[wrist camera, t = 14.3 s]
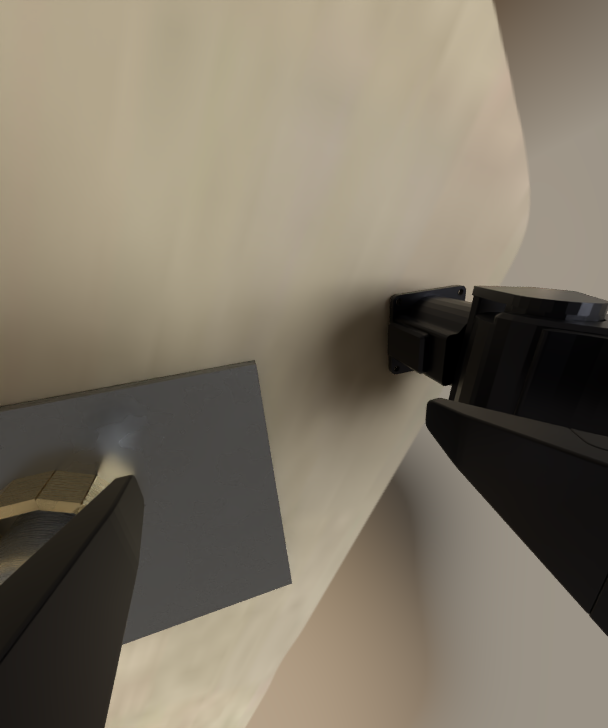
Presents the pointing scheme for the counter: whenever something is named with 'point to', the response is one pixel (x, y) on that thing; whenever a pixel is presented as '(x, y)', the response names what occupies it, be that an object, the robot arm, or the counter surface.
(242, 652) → the counter surface
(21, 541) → the grey cylindrical piece
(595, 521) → the robot arm
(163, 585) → the base
